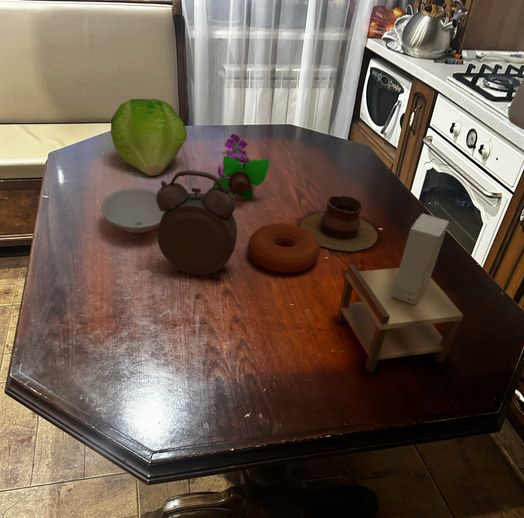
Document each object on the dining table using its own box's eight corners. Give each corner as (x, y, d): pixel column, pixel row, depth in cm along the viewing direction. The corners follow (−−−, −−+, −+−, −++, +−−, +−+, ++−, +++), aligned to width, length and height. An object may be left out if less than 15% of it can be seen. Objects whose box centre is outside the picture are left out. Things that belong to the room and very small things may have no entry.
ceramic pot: (333, 205, 126) (338, 178, 121) (393, 235, 117) (401, 206, 113) (283, 227, 116) (286, 198, 111) (344, 261, 107) (351, 231, 102)
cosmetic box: (416, 306, 80) (440, 238, 72) (389, 297, 81) (409, 228, 73) (427, 287, 84) (451, 220, 76) (401, 278, 86) (422, 211, 78)
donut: (283, 232, 114) (285, 212, 111) (332, 262, 107) (337, 241, 103) (232, 253, 106) (233, 231, 103) (281, 287, 99) (284, 265, 95)
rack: (406, 311, 96) (423, 258, 88) (443, 362, 86) (467, 307, 78) (336, 318, 93) (348, 264, 85) (367, 372, 83) (383, 316, 75)
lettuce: (104, 177, 127) (139, 137, 116) (98, 113, 133) (131, 68, 122) (162, 198, 139) (199, 163, 128) (154, 138, 145) (189, 100, 134)
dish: (104, 209, 116) (101, 188, 112) (168, 207, 119) (167, 187, 115) (104, 250, 103) (100, 228, 100) (176, 247, 106) (175, 225, 103)
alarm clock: (237, 264, 103) (242, 167, 90) (231, 285, 98) (235, 185, 84) (166, 255, 104) (160, 157, 90) (156, 275, 98) (149, 174, 85)
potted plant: (221, 225, 122) (217, 174, 150) (283, 193, 119) (268, 147, 146) (194, 179, 115) (196, 135, 142) (260, 144, 112) (248, 105, 139)
